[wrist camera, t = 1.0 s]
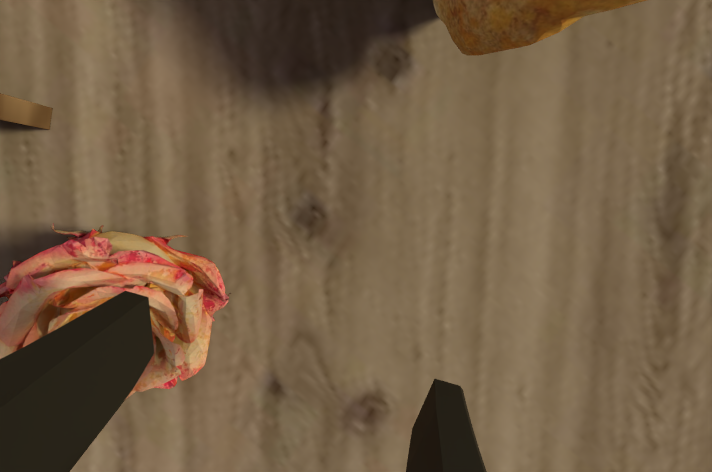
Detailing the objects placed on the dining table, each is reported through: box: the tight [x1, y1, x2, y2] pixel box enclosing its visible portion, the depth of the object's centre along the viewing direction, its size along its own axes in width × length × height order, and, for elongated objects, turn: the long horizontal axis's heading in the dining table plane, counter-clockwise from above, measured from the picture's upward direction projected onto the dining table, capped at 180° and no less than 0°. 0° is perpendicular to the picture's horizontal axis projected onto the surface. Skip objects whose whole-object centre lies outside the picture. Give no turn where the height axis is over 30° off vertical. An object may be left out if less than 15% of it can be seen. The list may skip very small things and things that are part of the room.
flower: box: [0, 223, 231, 401], centre depth 19 cm, size 9×9×7 cm
